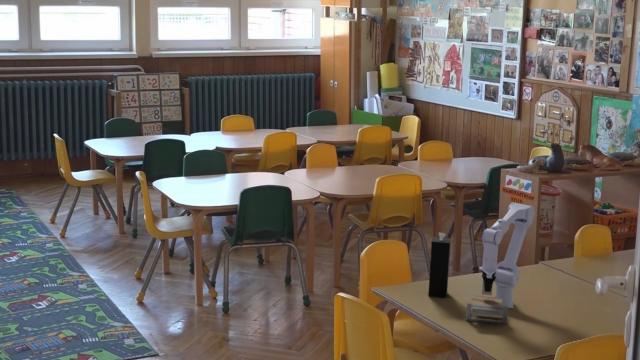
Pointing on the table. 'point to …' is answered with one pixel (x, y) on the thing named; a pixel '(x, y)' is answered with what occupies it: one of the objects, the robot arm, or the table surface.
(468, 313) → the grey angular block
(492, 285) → the light grey block
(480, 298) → the trapdoor
